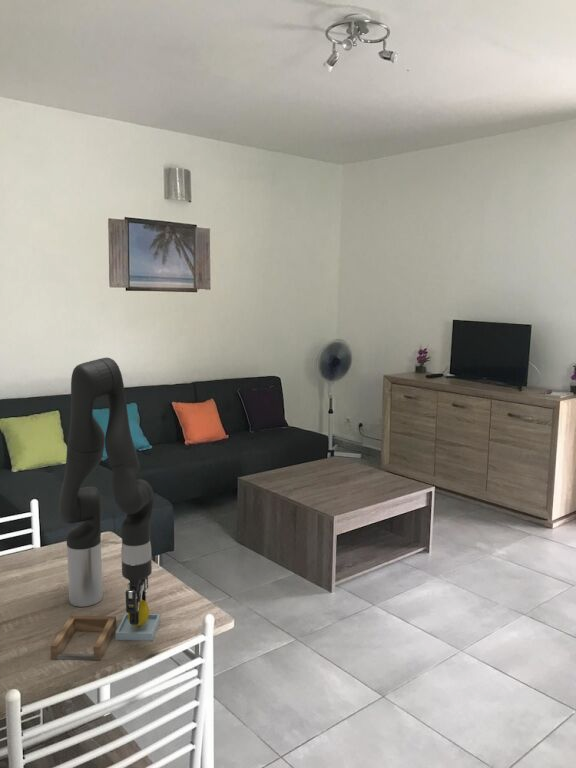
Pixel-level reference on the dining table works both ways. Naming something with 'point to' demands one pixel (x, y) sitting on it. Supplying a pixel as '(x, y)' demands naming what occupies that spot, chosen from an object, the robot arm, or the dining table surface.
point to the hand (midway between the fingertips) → (138, 615)
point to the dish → (138, 629)
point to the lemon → (142, 613)
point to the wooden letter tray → (84, 624)
